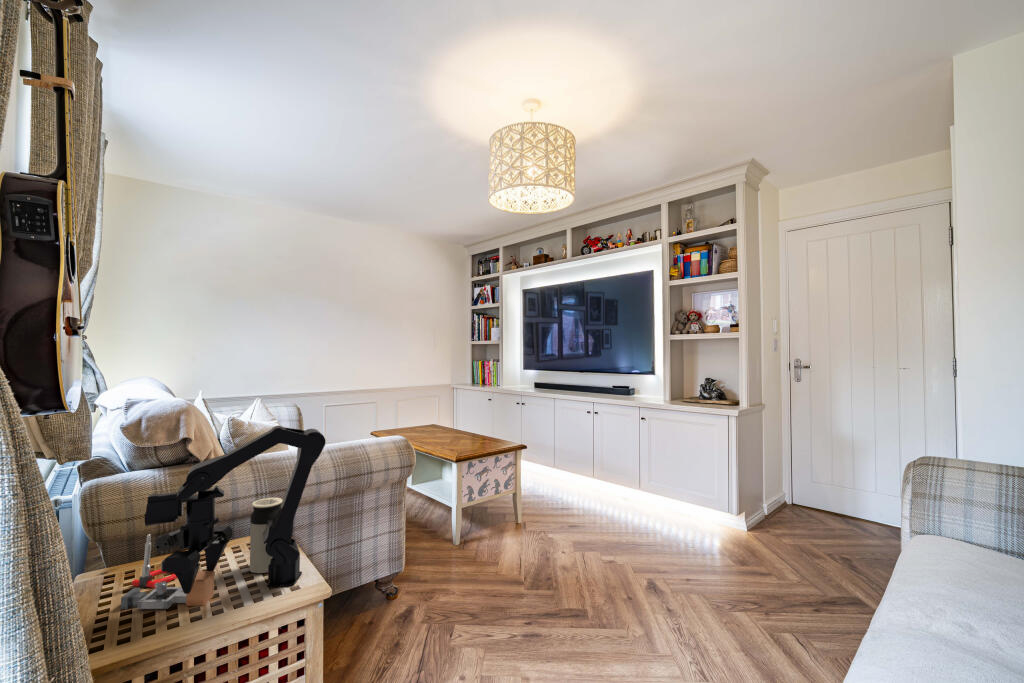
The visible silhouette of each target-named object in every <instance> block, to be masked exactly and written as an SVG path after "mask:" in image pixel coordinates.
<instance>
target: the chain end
mask: <svg viewBox="0 0 1024 683" xmlns="http://www.w3.org/2000/svg"><path fill="white" fill-rule="evenodd" d="M215 577H216V571H215V570H214V571H207V570H205V571H204V570H201V571H200V570H198V572H197V575H196V578H195V581H194V584H193V587H192V589H191V592H190V593H189V594H184V592H183V589H182V587H181V586H167V599H166V600H153V599H156V588H153V589H152V590H151V591H150V592H149V593H147V595H146V596H145V597H144V598H142V599H141V600H140V601H138V607H137V610H165V609H166V610H168V609H169V608H170V607H171V606H172V605H173V604H185V606H189V607H190V606H192V607H193V606H206V604H207V603H208V602H210V600H211V599H212V598H213V597H214V594H215V581H216V580H215V579H216V578H215ZM168 596H169V597H168Z"/></svg>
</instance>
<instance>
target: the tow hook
mask: <svg viewBox="0 0 1024 683" xmlns="http://www.w3.org/2000/svg"><path fill="white" fill-rule="evenodd" d="M151 537H152V534H151V533H148V534H147V535H146V542H145V543H144V558H143V559H144V560H143V566H142V567H141V568H142V569H141V576H139V579H133V580H132V582H131V586H132V587H133V586H134V587H139V588H153V589H155V588H156V584H158V583H160V582H167V583H169V582H170V581H173V580H175V579H178V578H177V577H176V575H175V574H173V573H171V574H170V575H168V576H166V577H163V578H156V579H154V580H153V577H154V576H156V575H157V576H158V575H161V574H168V573H167V572H162V571H161V568H158V569H156V570H152V571H151V566H152V565H151V553H152V552H151V551H152V542H151V539H152V538H151Z"/></svg>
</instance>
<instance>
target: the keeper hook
mask: <svg viewBox="0 0 1024 683" xmlns="http://www.w3.org/2000/svg"><path fill="white" fill-rule="evenodd" d="M167 587H168V582H160V583H158V584H156V598H155V599H153V600H166V599H167V598H168V596H167ZM146 595H148V591H141V587H133V588H131V589H130V590H129V591H128V592H126V593H125V594H124V595H122V596H121V597H120V610H129V609H130V608H134V607H135V608H136V607H138V601H140V600H141V599H142V598H144V597H145V596H146Z"/></svg>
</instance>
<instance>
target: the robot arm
mask: <svg viewBox="0 0 1024 683" xmlns="http://www.w3.org/2000/svg"><path fill="white" fill-rule="evenodd" d="M279 444H282V445H287V446H291V447H294V448H297V453H296V462H295V464H294V468H293V470H292V473H291V475H290V480H289V482H288V485H287V487H286V491H285V492H284V493H285V494H284V496H283V498H282V500H283V501H282V503H281V507H280V510H279V513H278V515H277V516H276V517H275V519H274V520H273V521H272V520H269V519H268V521H267V526H266V529H265V531H264V532H263V534H262V536H263V542H264V544H265V550H266V553H267V554H268V555H269V556H271V557H272V558H271V560H270V564H269V565H268V572H267V573H268V574H267V581H268V582H267V584H266V586H267V588H268V587H270V588H272V587H273V588H274V587H288V586H289V587H292V586H294V585H295V584H296V583H297V581H298V580H299V578H301V576H302V574H303V572H302V571H301V569H300V567H301V566H300V565H301V552H300V550H299V546H298V543H297V540H296V539H294V538H293V532H294V531H293V530H294V519H295V518H296V513H297V511H298V507H299V505H300V502H301V498H302V497H303V493H304V490H305V487H306V485H307V482H308V479H309V476H310V473H311V470H312V468H313V466H314V464H315V463H316V461H317V460H318V458H320V455H321V453H322V452H323V450H324V449H325V446H326V438H325V436H324V434H322V433H321V432H320V431H319V430H318V429H316V428H308V429H306V430H304V429H298V428H291V427H286V426H285V427H284V426H282V425H276V426H273V427H272V428H271V429H269V430H268V431H266V432H264V433H262V434H259V436H257V437H255V438H253V439H251V440H248V441H247V442H245V443H243V444H242V445H240V446H239V447H236V448H234V449H233V450H230V451H229V452H227V453H224V454H222V455H218V456H216V457H213V458H209V459H206V460H203V461H201V462H198V463H196V464H194V465H193V466H191V468H190V469H189V471H188V473H187V475H186V476H187V477H186V479H185V482H184V483H183V484H182V485H180V486H179V489H178V491H174V492H166V493H152V494H149V495H148V497H147V501H146V508H145V513H144V526H145V527H150V526H151V527H152V526H156V525H162V524H163V525H164V524H170V523H176V522H177V520H179V517H183V515H184V503H185V506H186V507H185V523H184V524H182V525H181V526H180V528H179V529H175V530H174V531H171V532H168V533H167V532H166V533H164V534H161V535H159V536H157V537H155V541H154V546H153V548H154V549H155V550H156V551H158V552H161V554H163V553H166V552H167V551H168V550H171V549H174V548H177V549H179V550H175V551H174V552H172V553H171V554H170V555H168V556H166V557H165V558H164V559H163V560H162V561H161V564H160V565H161V566H160V569H161V571H162V572H167V573H166V574H175V575H176V577H177V578H176V579H177V580H178V582H179V585H180V587H182V589H183V592H184V594H189V593H190V592H191V589H192V587H193V584H194V581H195V578H196V575H197V572H198V571H200V570H199V569H200V567H201V563H200V560H201V553H202V552H203V551H204V555H205V565H206V566H205V567H206V571H215V569H216V567H217V565H218V563H219V561H220V559H221V557H222V555H223V553H224V552H225V549H226V547H227V546H228V544H229V543H230V539H232V537H233V532H234V531H233V528H232V527H231V526H229V525H222V526H220V525H218V526H217V525H216V524H217V523H219V519H220V518H219V517H216V498H223V497H224V496H225V490H224V489H222V488H220V487H219V485H216V484H217V483H219V482H220V481H221V480H223V478H224V477H226V476H227V475H228V474H229V473H230V472H231V471H233V470H234V469H236V468H238V467H239V466H241V465H243V464H245V463H246V462H248V461H250V460H252V459H254V458H256V457H257V456H259V455H261V454H263V453H265V451H268V450H269V449H271V448H273V447H275V446H277V445H279ZM213 486H214V487H213ZM212 487H213V488H212ZM210 488H212V489H210ZM180 549H183V550H180ZM184 549H187V550H184Z"/></svg>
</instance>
